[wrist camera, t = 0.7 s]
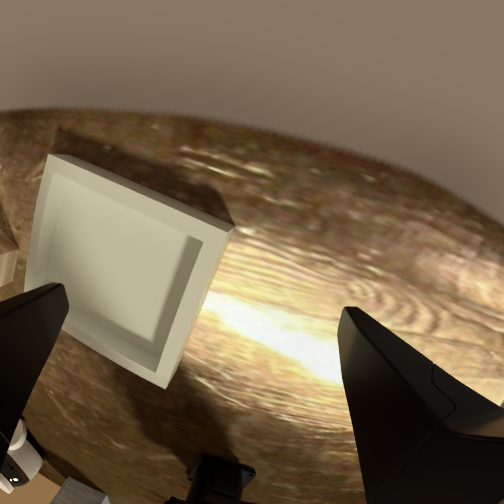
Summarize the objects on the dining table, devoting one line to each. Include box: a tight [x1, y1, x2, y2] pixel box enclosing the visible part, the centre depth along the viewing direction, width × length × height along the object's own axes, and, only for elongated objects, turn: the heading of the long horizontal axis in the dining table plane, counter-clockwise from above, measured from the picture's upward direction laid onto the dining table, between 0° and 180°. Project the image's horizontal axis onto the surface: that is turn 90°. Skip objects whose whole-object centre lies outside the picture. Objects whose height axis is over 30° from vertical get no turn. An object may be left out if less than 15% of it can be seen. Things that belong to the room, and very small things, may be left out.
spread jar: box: [0, 419, 44, 494], centre depth 29 cm, size 12×11×12 cm
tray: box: [24, 154, 235, 389], centre depth 23 cm, size 14×16×3 cm
